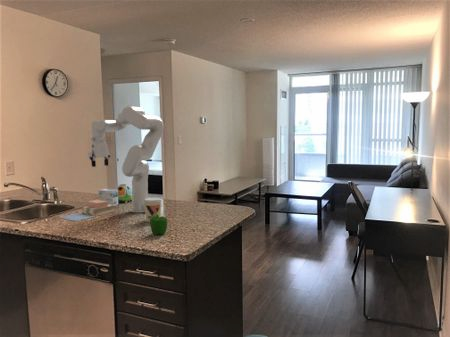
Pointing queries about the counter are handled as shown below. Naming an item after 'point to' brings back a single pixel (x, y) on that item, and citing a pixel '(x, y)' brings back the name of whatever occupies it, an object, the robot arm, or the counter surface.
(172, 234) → the counter surface
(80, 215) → the mat
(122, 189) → the turtle holder
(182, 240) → the counter surface
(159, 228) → the bell pepper
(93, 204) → the tile
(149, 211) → the coffee cup
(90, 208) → the deck
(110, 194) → the light bulb box
